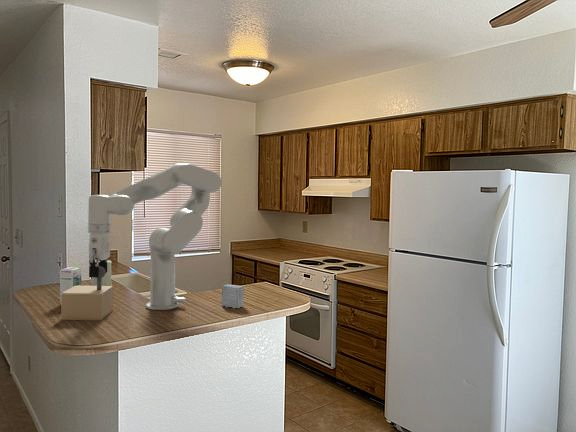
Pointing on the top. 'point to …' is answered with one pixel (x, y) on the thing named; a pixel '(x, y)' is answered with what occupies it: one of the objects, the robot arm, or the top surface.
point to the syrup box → (69, 278)
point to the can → (107, 278)
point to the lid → (90, 287)
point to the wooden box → (86, 306)
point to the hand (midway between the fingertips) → (98, 274)
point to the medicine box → (232, 296)
